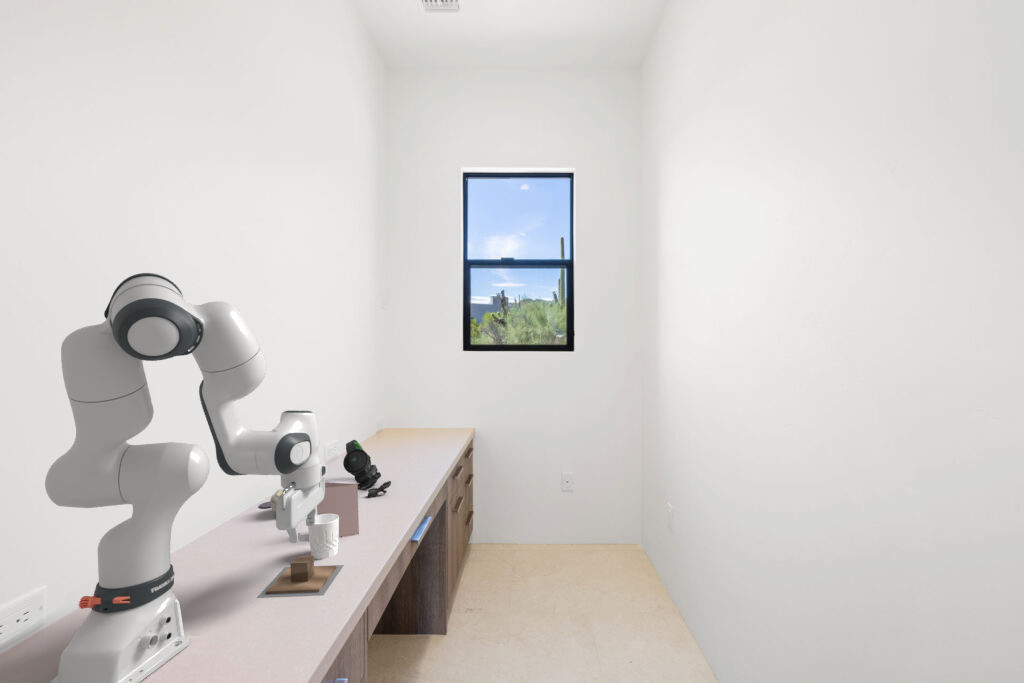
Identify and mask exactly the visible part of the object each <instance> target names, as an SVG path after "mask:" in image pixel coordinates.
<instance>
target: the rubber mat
mask: <svg viewBox="0 0 1024 683" xmlns="http://www.w3.org/2000/svg"><path fill="white" fill-rule="evenodd" d="M330 566H336V569H335V570H334V572H333V573H332V575H331V576H330V577H329V579H328V580H327V582H326V583H325V584H324V586H323V587H322V589H321V590H320V591H319V592H306V593H281V594H266V591H267V590H268V589H269V588H270V587H271V586H272V585H273V583H274V582H275V581H276V580H277V579H278V578H279V577H280V576H281V575H282V574H283V573H284V571H285V570H286V569H287V568H288V567H289V566H284V568H283V569H281V571H280V572H278V574H277V575H276V576H275V577H274V578H273V579H272V580H271V581H270V583H269V584H267V586H266V587H265V588H264V589H263V590H262V591H261V592H260V594H259V595H257V596H256V599H263V598H264V599H265V598H266V599H267V598H291V597H292V598H293V597H313V596H314V597H315V596H316V597H317V596H324V595H325V594H326V592H327V591H328V589H329V588H330V587H331V585H332V584H333V582H334V581H335V579H336V577H337V576H338V575H339V573H340V572H341V570H342V569H343V567H344V564H340V565H339V564H337V565H335V564H334V565H333V564H332V565H330Z"/></svg>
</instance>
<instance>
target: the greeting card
mask: <svg viewBox="0 0 1024 683" xmlns="http://www.w3.org/2000/svg"><path fill="white" fill-rule="evenodd" d="M358 488H359V487H358V483H342V482H328V481H327V482H326V481H325V495H324V499H323V500H322V501H321V502H320V503H319V504H318V505H317V512H316V516H317V515H321V514H336V515H338V516H339V538H342V537H341V536H344V537H349V536H348V535H351V536H356V535H355V534H358V535H360V527H359V526H360V525H359V524H360V523H359V519H360V518H359V494H358V493H359V492H358Z"/></svg>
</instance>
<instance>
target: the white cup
mask: <svg viewBox="0 0 1024 683" xmlns="http://www.w3.org/2000/svg"><path fill="white" fill-rule="evenodd" d="M307 528H308V539H309V547H310V555H314V560H325V559H329V558H332V557H334V556H336V555H337V554H338V551H339V538H340V537H339V516H338V515H336V514H321V515H317V514H316V516H315V524H314V525H313V526H307Z"/></svg>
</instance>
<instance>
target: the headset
mask: <svg viewBox="0 0 1024 683" xmlns="http://www.w3.org/2000/svg"><path fill="white" fill-rule="evenodd" d="M345 450H346V451H345V452H346V454H345V456H344V458H343V463H342V464H343V468H344V470H345V471H346V472H347V473H349V474H351V475H352V476H353V477H354V480H355V483H356V484H357V487H358V488H359V489H360V490H362V491H367V492H368V493H367V498H369V497H370V498H374V496H375V497H376V496H377V495H378V494H379V493H383V494H384V495H385V494H386V493H387V492H388V490H386V489H387V488H389V487H390V486H391V485H392V481H391V480H388V481H385V482H383V483H382V484H381V485H380V486H379V487H376V488H374V487H373V486H374V485H375V484H376V483H377V482H378V480H380V478H381V477H382V474H381V472H380V471H379V472H378V470H379V469H378V468H377V465H376V464H372V458H371V456H370V455H369V454H368V453H367V452H366V451H365V449H364V448H363V447H362V445H361V444H360V443H359V442H358V440H356V439H352V440H350V441H348V442H347V443H346V444H345ZM371 487H373V488H371ZM366 488H369V489H366Z"/></svg>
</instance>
